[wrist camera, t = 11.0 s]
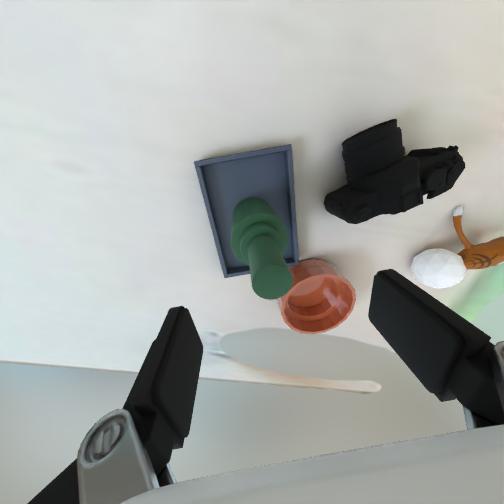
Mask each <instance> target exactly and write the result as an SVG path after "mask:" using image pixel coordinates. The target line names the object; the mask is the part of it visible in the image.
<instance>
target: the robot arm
mask: <svg viewBox="0 0 504 504" xmlns="http://www.w3.org/2000/svg"><path fill="white" fill-rule="evenodd" d="M368 316H369V320H370V321H371V323H372V324H373V325H374V326H375V328H376V329H377V330H378V331H379V332H380V334H381V335H382V336H383V337H384V338H385V340H386V341H387V342H388V343H389V344H390V346H391V347H392V348H393V349H394V350H395V352H396V353H397V354H398V355H399V356H400V358H401V359H402V360H403V361H404V362H405V364H406V365H407V366H408V367H409V368H410V370H411V371H412V372H413V373H414V374H415V376H416V377H417V378H418V379H419V380H420V382H421V383H422V384H423V385H424V387H425V388H426V389H427V390H428V391H429V392H431V393H434V394H435V395H436V396H437V397H438V399H439V400H440V401H441V402H443V401H449V400H455V399H456V398H457V400H458V401H459V402H460V403H461V404H462V405H463V409H464V415H465V421H466V425H467V430H463V431H458V432H452V433H447V434H441V435H435V436H429V437H423V438H417V439H411V440H405V441H399V442H393V443H388V444H382V445H377V446H371V447H365V448H359V449H354V450H348V451H342V452H337V453H331V454H326V455H320V456H314V457H309V458H303V459H298V460H293V461H286V462H281V463H276V464H270V465H265V466H259V467H254V468H249V469H243V470H237V471H232V472H226V473H222V474H217V475H212V476H207V477H202V478H197V479H192V480H187V481H183V482H178V483H177V482H176V480H175V477H174V475H173V472H172V470H171V467H170V465H169V461H170V458H171V453H172V449H178V448H183V443H184V438H185V437H187V436H188V434H189V430H190V424H191V419H192V413H193V407H194V401H195V395H196V390H197V384H198V378H199V372H200V366H201V360H202V354H203V345H202V342H201V340H200V337H199V335H198V332H197V330H196V327H195V325H194V322H193V320H192V318H191V315H190V313H189V310H188V309H187V308H184V307H183V306H179V307H174V308H170V310H169V311H168V314H167V316H166V318H165V320H164V323H163V325H162V327H161V330H160V332H159V334H158V336H157V339H156V340H154V341H153V343H152V345H151V347H150V349H149V352H148V354H147V356H146V358H145V360H144V363H143V365H142V367H141V369H140V371H139V374H138V376H137V378H136V380H135V383H134V385H133V387H132V389H131V391H130V393H129V396H128V398H127V401H126V402H125V404H124V407H123V409H117V410H114V411H112V412H110V413H108V414H106V415H105V416H103V417H102V418H101V419H100V420H99V421H98V422H97V423H95V424H94V426H93V427H92V428H91V429H90V430H89V432H88V433H87V434H86V436H85V438H84V440H83V441H82V443H81V446H80V448H79V451H78V456H77V459H76V460H75V461H74V462H72V463H71V464H70V465H69V466H68V467H67V468H66V469H65V470H64V471H63V472H61V473H60V474H59V475H58V476H57V477H56V478H55V479H54V480H53V481H52V482H51V483H49V484H48V485H47V486H46V487H45V488H44V489H43V490H42V491H41V492H40V493H38V494H37V495H36V496H35V497H34V498H33V499H32V500H31V501H30V502H29V503H28V504H504V341H501V342H498V343H497V344H496V345H493V344H492V343H490V342H489V340H490V339H491V337H490V336H488V335H487V334H485V333H484V332H483V331H481V330H479V329H478V328H477V327H475V326H474V325H472V324H471V323H470V322H468V321H467V320H465V319H464V318H462V317H461V316H460V315H458V314H457V313H455V312H454V311H452V310H451V309H449V308H448V307H447V306H445V305H444V304H442V303H441V302H439V301H438V300H437V299H435V298H434V297H432V296H431V295H429V294H428V293H427V292H425V291H424V290H422V289H421V288H419V287H418V286H416V285H415V284H414V283H412V282H411V281H409V280H408V279H406V278H405V277H404V276H402V275H401V274H399V273H398V272H396V271H395V270H393V269H388V270H382V271H378V272H377V275H375V276H374V281H373V288H372V294H371V301H370V307H369V314H368Z"/></svg>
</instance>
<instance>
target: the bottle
mask: <svg viewBox="0 0 504 504" xmlns="http://www.w3.org/2000/svg"><path fill="white" fill-rule="evenodd" d="M288 242H289V236H288V231H287V229H286V227H285V225H284V224H283V222H282V221H281V220H280V219H279V217H278V216H277V215H276V214H275V212H274V211H273V210H272V209H271V207H270V206H269V205H268V204H267V203H266V202H265V201H264V200H262V199H260V198H256V197H250V198H246V199H244V200H242V201H241V202H239V203H238V204H237V206H236V207H235V209H234V212H233V219H232V232H231V247H232V250H233V252H234V254H235V256H236V257H237V258H238V259H239V260H240V261H241V262H242V263H244V264H246V265H248V266H250V273H251V281H252V287H253V290H254V292H255V293H256V294H257V295H258V296H260V297H262V298H264V299H277V298H280V297H282V296H284V295H285V294H286V293H288V291H289V290H290V289H291V287H292V284H293V277H292V274H291V272H290V270H289V268H288V266H287V264H286V262H285V260H284V258H283V255H284V253H285V251H286V249H287V247H288Z"/></svg>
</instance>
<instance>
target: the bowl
mask: <svg viewBox="0 0 504 504" xmlns="http://www.w3.org/2000/svg"><path fill="white" fill-rule="evenodd" d="M289 270H290V272H291V274H292V277H293V284H292V287H291V289H290V290H289V291H288V293H286V294H285V295H284V296H282V297H280V298H277V301H278V304H279V307H280V311H281V314H282V316H283V319H284V322H285V323H286V324H287V325H288V326H289V327H290V328H291V329H293V330H295V331H298V332H300V333H306V334H316V333H322V332H326V331H328V330H330V329H333V328H335V327H337V326H338V325H339V324H341V323H342V322H343V321H345V320H346V319H347V317H348V316H349V315H350V313H351V312H352V310H353V308H354V304H355V301H356V298H355V290H354V288H353V287H352V285H351V284H350V283H349V281H348V280H347V279H346V278H345V277H344V276H343V275H342V274H341V273H340V272H339V271H338V270H337V269H336V268H335V267H334V266H333V265H331V264H330V263H328V262H326V261H323V260H316V259H311V260H305V261H301V262H299V265H295V266H291V267H289Z"/></svg>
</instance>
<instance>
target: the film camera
mask: <svg viewBox="0 0 504 504" xmlns="http://www.w3.org/2000/svg"><path fill="white" fill-rule="evenodd" d="M342 146H343V151H342V157H343V160H344V161H345V172H346V174H347V176H346V178H347V180H348V183H347V185H345V186H343V187H341V188H339V189H337V190H335V191H333V192H330V193H329V194H327V195H326V197H325V200H324V205H325V208H326V210H327V211H328V212H329V213H331V214H333V215H335V216H337V217H339V218H341V219H343V220H345V221H346V222H348V223H351V224H358V223H361V222H365V221H367V220H369V219H371V218H373V217H375V216H378V215H381V214H392V215H394V214H397V213H400V212H406V211H407V210H409V209H411V208H413V207H416V206H418V205H420V204H423V195H425V194H428V195H427V198H426V199H431V198H434V197H436V196H438V195H440V194H442V193H444V192H446V191H448V190H449V189H451V188H452V187H453V185H454V183H455V182H456V180H457V179H458V177H459V176H460V174H461V173H462V172H463V170H464V168H465V162H464V161H463V157H462V156H461V155H460V154H459V152H458V147H457V146H454V147H453V146H449V147H448V148H447V149H446V148H443V147H438V148H432V149H416V150H411V151H410V152H409V154H408V155H406V156H404V154H405V148H404V147H403V145H402V133H401V129H400V127H397V119H392V120H389V121H386V122H383V123H380V124H378V125H375V126H373V127H371V128H368V129H366V130H364V131H361V132H359V133H357V134H356V135H354V136H352V137H350V138H348V139H346V140H345V141H344V142H343V143H342Z"/></svg>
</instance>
